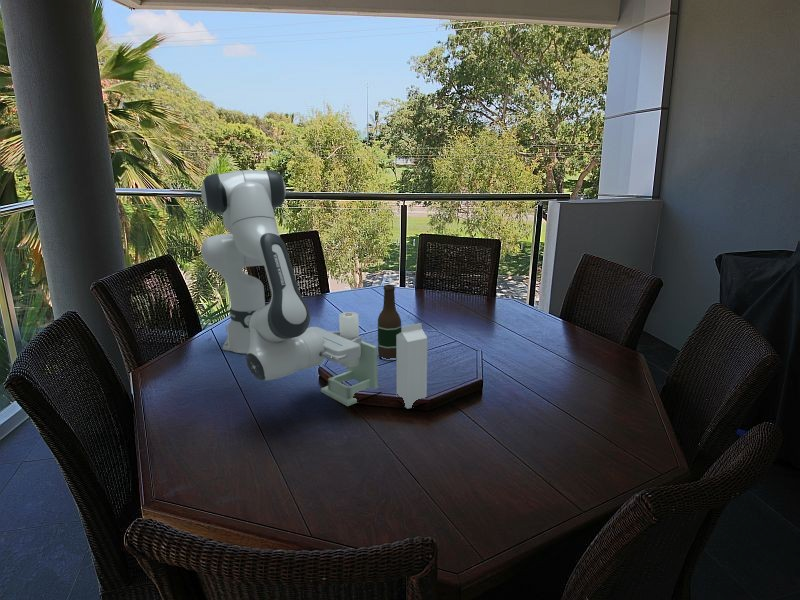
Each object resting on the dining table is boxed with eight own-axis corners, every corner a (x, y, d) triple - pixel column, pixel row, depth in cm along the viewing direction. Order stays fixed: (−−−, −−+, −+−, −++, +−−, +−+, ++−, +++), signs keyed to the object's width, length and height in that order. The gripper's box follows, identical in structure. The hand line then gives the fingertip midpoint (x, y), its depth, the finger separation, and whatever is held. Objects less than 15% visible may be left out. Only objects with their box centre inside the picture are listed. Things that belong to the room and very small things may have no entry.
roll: (337, 362, 149) (335, 313, 145) (354, 358, 151) (353, 310, 147) (345, 368, 145) (344, 318, 141) (363, 364, 147) (361, 315, 143)
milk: (426, 404, 144) (428, 326, 137) (407, 409, 141) (408, 330, 135) (414, 394, 149) (416, 319, 143) (395, 399, 146) (396, 323, 140)
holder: (320, 391, 151) (318, 345, 147) (354, 379, 159) (353, 334, 155) (347, 406, 142) (345, 357, 138) (381, 392, 150) (380, 345, 146)
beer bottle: (398, 362, 171) (398, 289, 164) (375, 360, 172) (374, 288, 166) (403, 353, 178) (403, 283, 171) (380, 351, 180) (380, 281, 173)
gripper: (333, 349, 129) (377, 335, 138) (287, 328, 143) (329, 317, 153) (334, 373, 131) (377, 358, 140) (288, 350, 145) (330, 338, 154)
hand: (352, 336), depth 147 cm, fingers closed on roll, 5 cm apart
